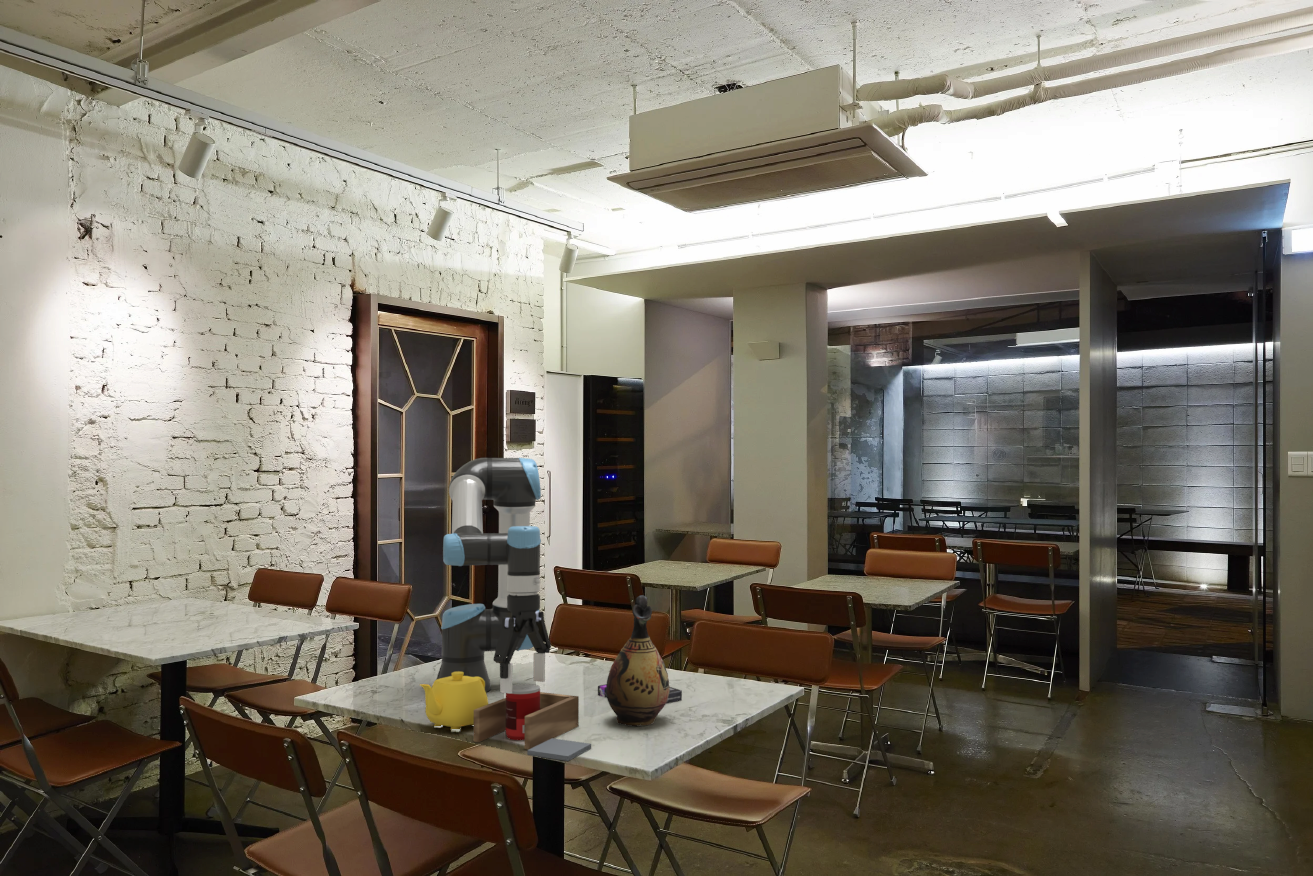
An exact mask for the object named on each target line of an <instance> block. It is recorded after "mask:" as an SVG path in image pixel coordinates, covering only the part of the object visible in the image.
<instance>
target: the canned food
mask: <svg viewBox="0 0 1313 876" xmlns="http://www.w3.org/2000/svg"><path fill="white" fill-rule="evenodd" d="M540 692H541V686H540V685H537V684H536V683H535V684H534V683H519V684H518V683H517V684H512V693H511V694H509V693H505V698H506V731H505V735H506V738H507V739H509V740H512V741H525V716H527V715H529V714H531V713H534V712H536V711H538V710H540Z"/></svg>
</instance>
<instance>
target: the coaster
mask: <svg viewBox="0 0 1313 876" xmlns="http://www.w3.org/2000/svg"><path fill="white" fill-rule="evenodd" d="M591 749H592V743H591V742H590V743H589V742H581V741H575V740H574V741H573V740H567V739H561V738H560V739H559V738H552V739H549V740H547V741H545V742H543V743H541V744H539V745H537V746H535V747H533V748H531V749H526V751H527V753H526V754H527V755H526V756H530V757H531V756H532V757H537V758H545V759H552V760H558V761H564V762H569V761H571V760H573V759H574V758H577V757H578V756H580V755H582V754H584V753H585V752H587V751H589V750H591Z"/></svg>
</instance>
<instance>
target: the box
mask: <svg viewBox="0 0 1313 876" xmlns="http://www.w3.org/2000/svg"><path fill="white" fill-rule="evenodd" d="M606 684H607V683H605V684H600V685H598V686H597V696H600V697H603V698H606V699H607V696H606ZM669 690H670V691H669V695H668V699H667V703H666V704H665V705H667V704H671V703H676V702H681V701H682V699H683V690H682V689H678V688H675V687H672V686H670V688H669Z"/></svg>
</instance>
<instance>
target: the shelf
mask: <svg viewBox="0 0 1313 876" xmlns="http://www.w3.org/2000/svg"><path fill="white" fill-rule="evenodd" d="M579 698H580V697H579V695H571V694H570V695H569V694H560V693H554V692H553V693H552V692H543V691H540V710H538V711H536V712H534V713H531V714H529V715H527V716H525V740H524V750H529V749H531V748H533V747H535V746H537V745H539V744H541V743H543V742H545V741H547V740H549V739H552V738H554V739H556V738H557V737H559V736H562V735H563V734H565V733H568V732H569V731H572V730H574V729H575V728H576V729H577V728H578V727H579V723H580V722H579V720H580V719H579V715H580V714H579V708H580V707H579V706H580V703H579V700H580V699H579ZM504 732H506V697H504V698H502V699H501V698H500V699H498V700H496V701H493V702H491V703H488V705H485V706H483V707H480V708H477V709H475V710H474V727H473V740H472V741H473V742H476V743H480V742H483V741H485V740H487V739H490V738H492V737H495V736H497V735H499V734H501V733H504ZM494 735H495V736H494Z"/></svg>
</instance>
